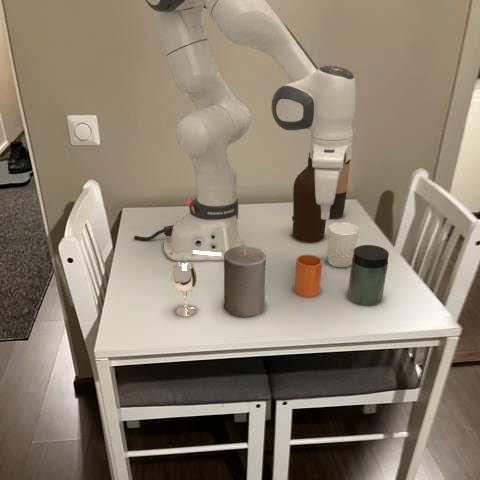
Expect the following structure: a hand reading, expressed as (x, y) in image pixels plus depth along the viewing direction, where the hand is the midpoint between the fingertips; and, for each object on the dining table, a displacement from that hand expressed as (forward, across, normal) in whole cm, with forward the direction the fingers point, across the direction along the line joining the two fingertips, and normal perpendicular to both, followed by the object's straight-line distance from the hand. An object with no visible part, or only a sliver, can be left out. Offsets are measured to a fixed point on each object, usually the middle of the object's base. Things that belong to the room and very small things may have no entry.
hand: (326, 211), depth 126 cm
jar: (+22, -1, +10) cm, 24 cm away
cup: (+22, -1, -4) cm, 22 cm away
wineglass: (+21, +15, -30) cm, 40 cm away
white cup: (+21, -19, +3) cm, 29 cm away
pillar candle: (+22, +10, -17) cm, 29 cm away
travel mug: (+20, -52, -2) cm, 56 cm away
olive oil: (+21, -34, -7) cm, 40 cm away
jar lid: (+10, -1, +11) cm, 15 cm away
